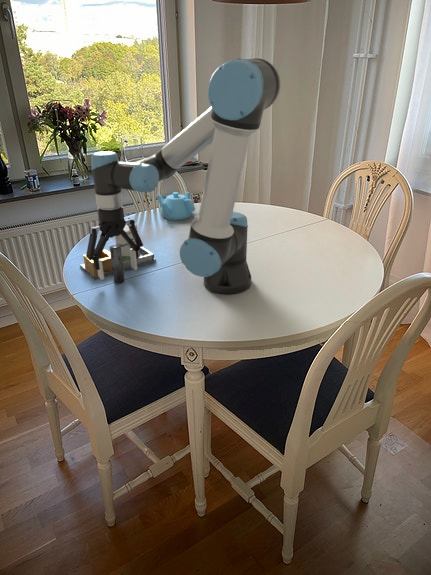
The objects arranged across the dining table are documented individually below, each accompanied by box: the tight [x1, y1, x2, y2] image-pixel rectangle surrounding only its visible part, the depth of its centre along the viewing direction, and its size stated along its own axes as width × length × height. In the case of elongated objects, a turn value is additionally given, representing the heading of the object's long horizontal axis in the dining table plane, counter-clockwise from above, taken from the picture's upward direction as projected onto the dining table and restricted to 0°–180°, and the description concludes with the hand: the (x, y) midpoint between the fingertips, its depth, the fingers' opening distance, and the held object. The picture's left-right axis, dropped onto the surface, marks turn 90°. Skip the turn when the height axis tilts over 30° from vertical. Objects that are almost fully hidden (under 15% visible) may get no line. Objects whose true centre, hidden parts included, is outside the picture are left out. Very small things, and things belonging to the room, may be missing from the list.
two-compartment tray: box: [79, 246, 157, 281], centre depth 154 cm, size 12×23×5 cm, turn 126°
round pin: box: [109, 244, 126, 285], centre depth 141 cm, size 3×3×12 cm
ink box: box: [114, 223, 140, 262], centre depth 154 cm, size 9×5×12 cm, turn 166°
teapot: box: [156, 191, 196, 221], centre depth 197 cm, size 15×15×11 cm
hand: (118, 273), depth 142 cm, fingers open, 11 cm apart
